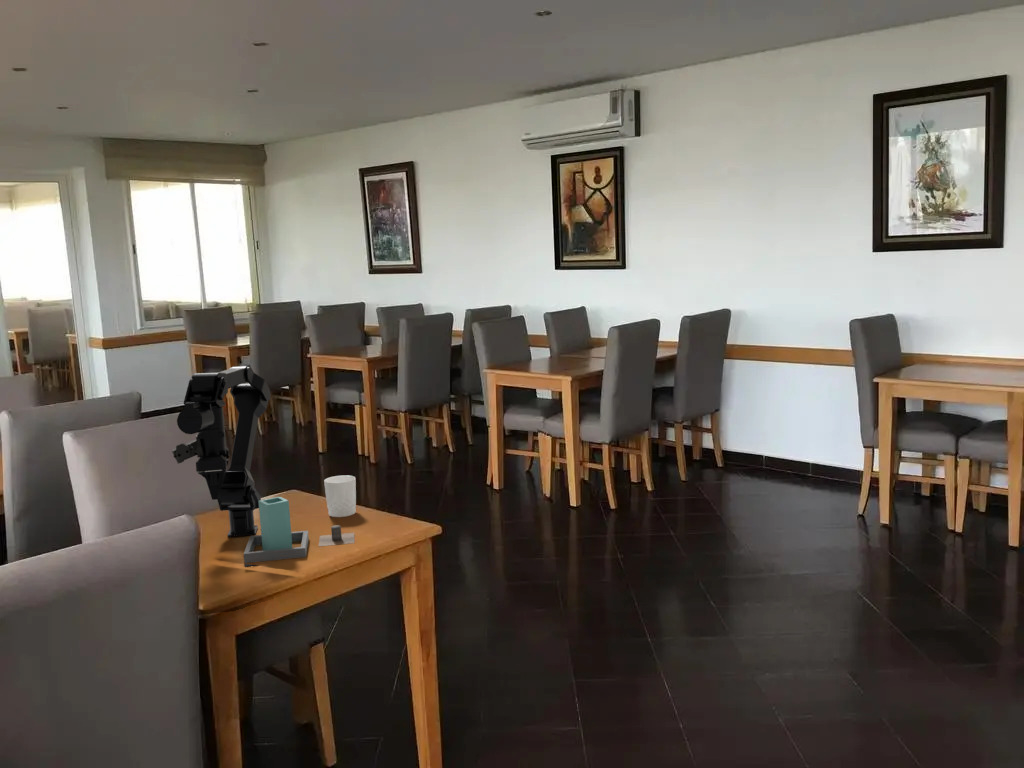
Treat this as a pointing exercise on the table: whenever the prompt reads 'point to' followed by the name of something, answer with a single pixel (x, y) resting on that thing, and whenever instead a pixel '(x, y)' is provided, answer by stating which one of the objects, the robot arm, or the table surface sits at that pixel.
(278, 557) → the tray
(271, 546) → the sleeve
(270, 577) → the table surface
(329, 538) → the grey plate with post
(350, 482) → the white cup
